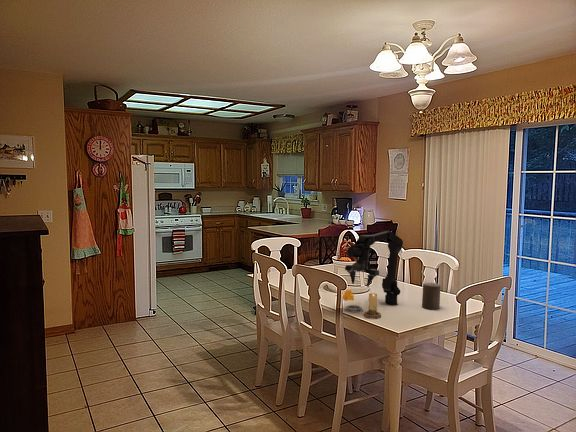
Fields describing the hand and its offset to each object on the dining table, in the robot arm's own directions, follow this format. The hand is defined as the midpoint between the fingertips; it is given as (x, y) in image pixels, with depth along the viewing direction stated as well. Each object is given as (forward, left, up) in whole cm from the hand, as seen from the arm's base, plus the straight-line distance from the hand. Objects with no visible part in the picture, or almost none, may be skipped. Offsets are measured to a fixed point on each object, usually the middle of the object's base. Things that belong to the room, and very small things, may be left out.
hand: (360, 285), depth 241 cm
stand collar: (-7, +9, -14) cm, 18 cm away
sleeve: (-7, +9, -14) cm, 18 cm away
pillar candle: (-41, -14, -15) cm, 46 cm away
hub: (+3, -1, -14) cm, 15 cm away
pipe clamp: (+8, -26, -15) cm, 31 cm away
